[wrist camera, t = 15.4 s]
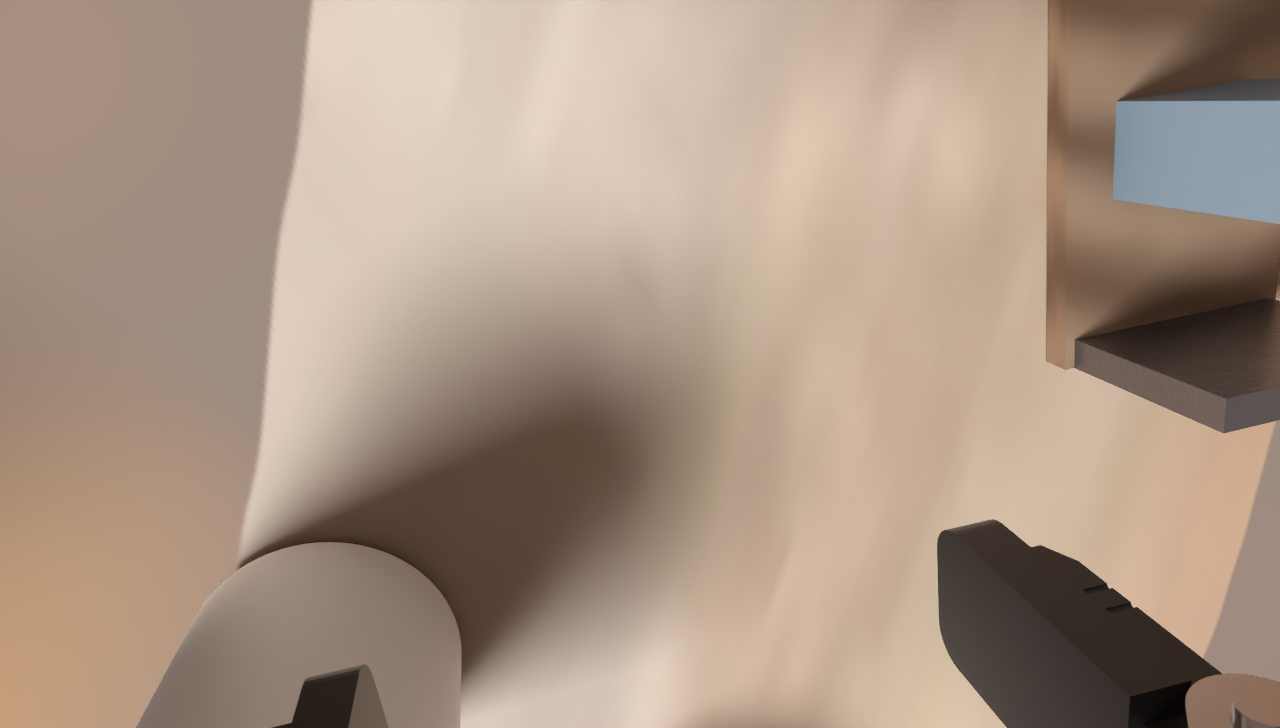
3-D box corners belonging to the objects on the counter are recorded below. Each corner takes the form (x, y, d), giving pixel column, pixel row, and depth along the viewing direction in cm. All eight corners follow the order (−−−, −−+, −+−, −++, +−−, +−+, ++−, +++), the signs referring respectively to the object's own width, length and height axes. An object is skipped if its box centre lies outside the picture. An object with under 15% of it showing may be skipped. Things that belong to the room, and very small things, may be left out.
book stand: (1048, -85, 37) (1071, -93, 36) (1285, -119, 39) (1316, -128, 37) (1046, 361, 44) (1065, 369, 42) (1248, 316, 45) (1273, 323, 44)
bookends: (1082, -94, 36) (1270, -156, 27) (1306, -126, 37) (1552, -194, 29) (1074, 367, 42) (1223, 433, 34) (1264, 325, 44) (1453, 378, 35)
